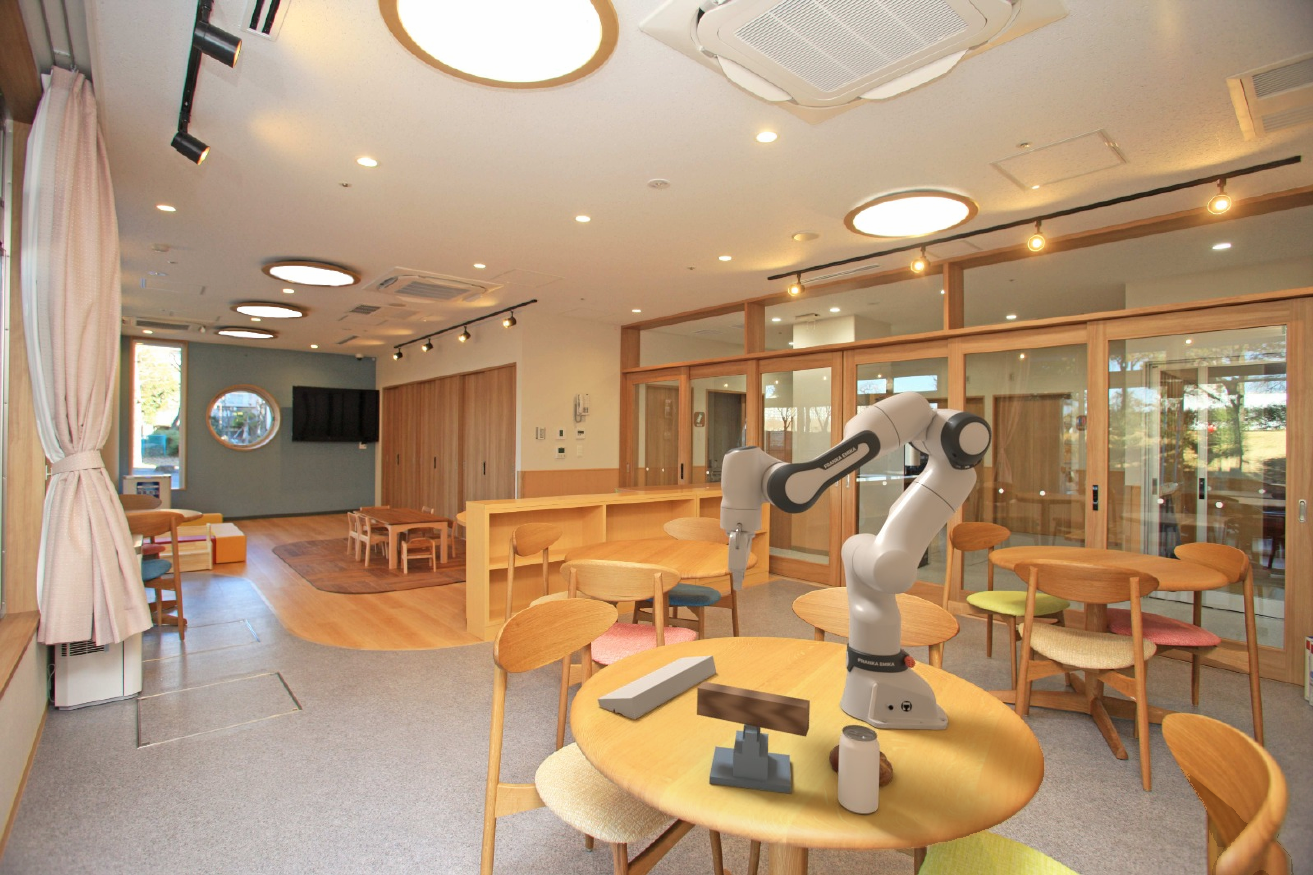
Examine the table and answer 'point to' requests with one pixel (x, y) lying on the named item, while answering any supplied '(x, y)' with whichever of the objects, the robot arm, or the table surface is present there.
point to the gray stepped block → (751, 764)
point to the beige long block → (658, 686)
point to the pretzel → (884, 766)
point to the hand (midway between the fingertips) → (739, 584)
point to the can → (858, 769)
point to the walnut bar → (753, 708)
